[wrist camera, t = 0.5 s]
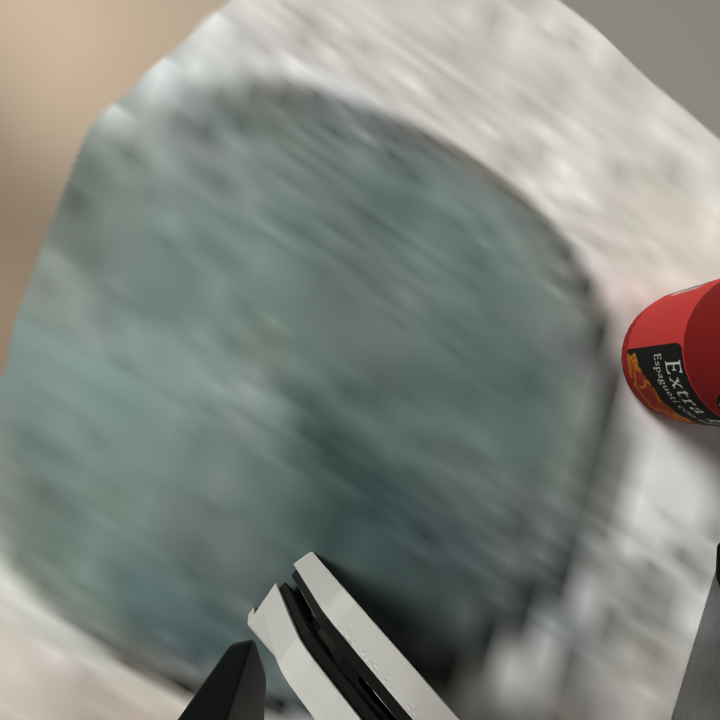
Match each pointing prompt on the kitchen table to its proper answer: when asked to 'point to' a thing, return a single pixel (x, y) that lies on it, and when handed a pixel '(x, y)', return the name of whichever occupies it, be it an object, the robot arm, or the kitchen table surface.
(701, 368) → the canned food
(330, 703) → the game console
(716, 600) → the grey cinder block
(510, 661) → the kitchen table surface
